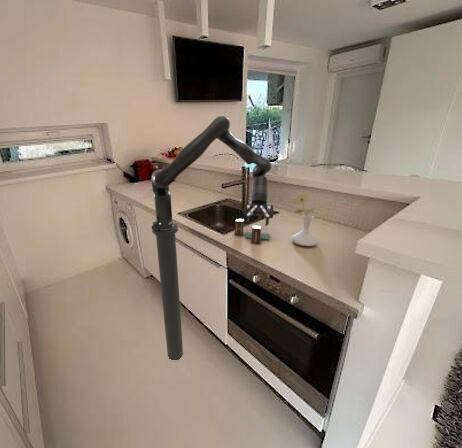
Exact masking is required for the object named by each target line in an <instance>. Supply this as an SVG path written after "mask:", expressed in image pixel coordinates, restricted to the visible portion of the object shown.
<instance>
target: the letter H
mask: <svg viewBox="0 0 462 448" xmlns="http://www.w3.org/2000/svg"><path fill="white" fill-rule="evenodd" d="M234 222H235V223H234V236H240V237H243V235H244V227H245V219H244V218H236V219H235V221H234Z"/></svg>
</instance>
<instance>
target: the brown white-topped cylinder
mask: <svg viewBox="0 0 462 448" xmlns="http://www.w3.org/2000/svg"><path fill="white" fill-rule="evenodd" d="M251 233H252V239H250V240H251V243H250V244H254V245H260V244H261V240H260V236H261V234H262V225H252V228H251Z"/></svg>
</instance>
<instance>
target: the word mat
mask: <svg viewBox="0 0 462 448" xmlns="http://www.w3.org/2000/svg"><path fill="white" fill-rule="evenodd" d="M245 239H247V240H248V239H249V240H252V232H246V235H245ZM269 239H270V234H269V233H261V236H260V241H269Z"/></svg>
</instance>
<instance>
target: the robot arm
mask: <svg viewBox="0 0 462 448" xmlns="http://www.w3.org/2000/svg"><path fill="white" fill-rule="evenodd" d="M230 127H231V122H230V119H229V118H228V117H226V116H224V115H220V116H217V117H216V118H214V119H213V121H211V123H210V124H209V125H208V126H207V127H206V128H205V129H204V130H203V131H202V132H201V133H199V134H198V135H197V136H195V138H193V139H192V140H191V141H190V142H188V143H187V144H186V145H185V146H184V147H183V148H181V150H180V151H179V152H178V153H177V155H176V157H175V158H174V159H173V160H172V162H170V164H168V165H167V166H166V167H165V168H163V169H160V168H159V169H156V170H154V171H153V172H152V174H151V188H152V195H153V201H154V208H155V209H154V216H155V221H152V225H151V230H152V229H154V230H155V229H158V231H167V230H171V229H172V228H173V224H174V223H173V208H172V207H173V206H172V194H171V191H170V185H172V183H173V182H174V181H175V180H176V179H177V178H178V177H179V175H181V174H182V173H183V172H184V171H186V170H187V169H188V168H189V167H190V166H191V165H192V164H194V163H195V162H197V160H198V159H199V158H201V157H202V155H204V154H205V152H206V150H207V149H209V147H210V145H211V144H212V143H213V142H214V141H216V139H217V140H219V141H220V142H221V143H223V144H224V145H226V146H227V147H228V148H229V149H230V150H232V151H233V152H234V153H235V154H236V155H237V156H238V157H239V158H240V159H241V160H242V161H243V162H244V163H246V164H247V165H252V164H254V165H255V166H254V167H253V169H252V179H253V186H252V187H253V189H252V193H251V202H250V203H251V204H247V203H245V204H244V207H243V213H242V214H243V215H242V216H243V217H246V218H245V219H246V221H245V223H246V224H247V225H250V219H251V218H250V217H251V216H253V215H263V216H264V217H265V225H264V226H265V227H268V225H269V223H270V219H273V218H274V205H272V204H271V205H267V204H268V194H269V193H268V185H269V181H268V180H269V179H268V178H267V177H266V176H265V175H267V174H268V173H269V172H270V171H271V170H272V163H271V162H270V160H268V159H267V158H266V157H264V156H262V155H260V154H258V153H257V152H255V150H254V149H253V148H251V147H250V146H249V145H248V144H247V143H245V142H244V141H241V140H240V139H238V138H237V137H235V136H234V134H232V133H231V131H230ZM249 209H250V210H249ZM247 210H249V211H248V213H247ZM267 210H268V211H269V213H268V211H267Z"/></svg>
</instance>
